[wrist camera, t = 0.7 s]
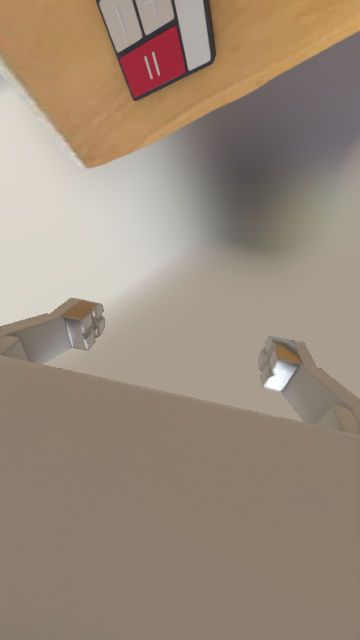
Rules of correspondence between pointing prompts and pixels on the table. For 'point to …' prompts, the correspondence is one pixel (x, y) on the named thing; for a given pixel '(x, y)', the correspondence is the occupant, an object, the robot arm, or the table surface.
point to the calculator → (159, 40)
